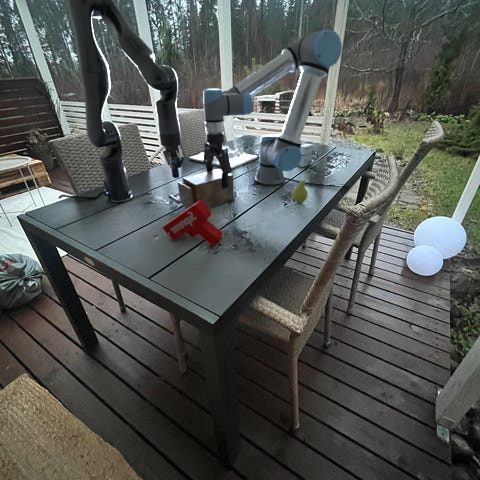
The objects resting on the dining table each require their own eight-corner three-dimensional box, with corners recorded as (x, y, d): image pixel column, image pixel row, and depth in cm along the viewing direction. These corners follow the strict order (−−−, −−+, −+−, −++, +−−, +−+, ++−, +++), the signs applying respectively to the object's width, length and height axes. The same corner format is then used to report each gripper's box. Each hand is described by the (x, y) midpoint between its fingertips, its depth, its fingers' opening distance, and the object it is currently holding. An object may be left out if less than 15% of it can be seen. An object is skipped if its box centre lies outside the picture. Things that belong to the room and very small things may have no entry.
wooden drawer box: (198, 211, 114) (195, 185, 108) (185, 203, 122) (182, 177, 115) (233, 199, 124) (233, 174, 118) (219, 192, 131) (218, 168, 125)
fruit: (288, 200, 123) (290, 174, 116) (302, 197, 125) (305, 172, 119) (296, 206, 118) (299, 179, 111) (310, 203, 120) (314, 177, 114)
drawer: (179, 214, 110) (176, 192, 105) (169, 206, 116) (165, 185, 111) (225, 199, 122) (224, 178, 117) (213, 193, 128) (211, 173, 123)
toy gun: (229, 234, 92) (201, 198, 88) (224, 240, 88) (196, 203, 84) (194, 253, 102) (168, 222, 98) (189, 259, 98) (162, 227, 94)
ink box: (304, 162, 171) (306, 143, 164) (310, 164, 168) (313, 144, 161) (296, 165, 166) (298, 145, 159) (302, 167, 163) (305, 147, 156)
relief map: (231, 168, 161) (231, 160, 158) (189, 159, 179) (189, 151, 176) (257, 158, 179) (257, 150, 176) (217, 150, 197) (216, 142, 194)
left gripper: (152, 129, 100) (160, 175, 110) (168, 135, 92) (175, 184, 101) (170, 127, 104) (176, 171, 114) (187, 132, 95) (192, 179, 105)
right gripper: (192, 129, 115) (196, 179, 127) (224, 138, 100) (226, 194, 112) (206, 127, 119) (210, 175, 131) (240, 135, 104) (240, 189, 116)
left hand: (176, 177), depth 107 cm, fingers closed
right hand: (217, 184), depth 122 cm, fingers closed on wooden drawer box, 11 cm apart
